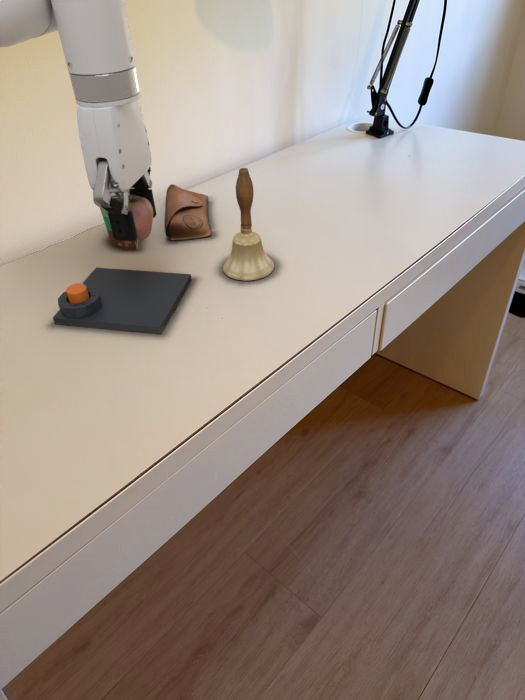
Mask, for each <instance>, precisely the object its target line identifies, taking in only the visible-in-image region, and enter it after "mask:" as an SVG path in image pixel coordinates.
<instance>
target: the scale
mask: <svg viewBox="0 0 525 700" xmlns="http://www.w3.org/2000/svg"><path fill="white" fill-rule="evenodd" d="M192 281H193V280H192V274H191V273H180V272H166V271H153V270H152V271H151V270H139V269H122V268H109V267H108V268H107V267H95V268H94V269H93V271H91V272H90V274H89V275H88V276H87V277H86V278H85V280H84V281H83V282H81V284H84V285H86V288H87V291H88V294H89V299H88V300H86V301H84V302H82V303H77V304H73V303H70V302H69V299H68V296H67V293H66V290H65V291H63V292H62V293H61V294H60V295H59V297H58V298H57V305H58V308H59V310H58V311H57V312H56V313H55V314H54V315H53V316H52V320H53V322H54V324H55V325H57V326H58V325H59V326H69V327H70V326H71V327H81V328H89V329H90V328H91V329H100V330H110V331H111V330H112V331H122V332H131V333H143V334H153V335H154V334H155V335H162V334H163V332H164V330H165V328H166V326H167V325H168V323H169V322H170V319H172V316H173V314H174V313H175V311H176V309H177V307H178V305H180V302H181V301H182V298H183V297H184V295H185V294H186V291H187V290H188V288H189V286H190V285H191V283H192Z"/></svg>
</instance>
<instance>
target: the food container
mask: <svg viewBox="0 0 525 700" xmlns="http://www.w3.org/2000/svg"><path fill="white" fill-rule="evenodd" d="M110 185H111V188H119V185H118V183H110ZM129 189H134V188H132V187H130V188H129ZM129 189H128V195H130V193H129ZM117 197H120V193H112V198H117ZM92 201H93V204H94V205H95V206H97V207H98V208H99V211H100V213H101V215H102V220H103V222H104V225H105V229H106V231H107V234H108V237H109V240H110V243H111V245H112V246H113V247H114V248H116V249H119V250H124V251H137V250H138V246H139V241H120V240H115V239H114V237H113V233H112V229H111V225H110V222H109V219H108V214H106V213H105V210H104V208H102V207H101V205H100V204H99V203H98V202H97V201H95V199H94V190H92Z"/></svg>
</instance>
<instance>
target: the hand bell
mask: <svg viewBox="0 0 525 700" xmlns="http://www.w3.org/2000/svg"><path fill="white" fill-rule="evenodd" d="M235 195H236V196H235V197H236V202H237V205H238V208H239V212H240V232H238V233H236V234H234V235H233V236H232V242H231V243H232V244H231V251H230V255H229V257H228V258H227V259H226V260H225V261H224V263H223V266H222V271H223V273H224V275H225V276H227V277H229V278H231V279H233V280H238V281H246V282H247V281H256V280H260V279H263V278H265V277H266V278H267V276H269V275H270V274H272V272H273V271H274V269H275V263H274V261H273V259H272V258H270V256H268V255H267V254H266V252H265V250H264V247H263V241H262V237H261V235H260V234H259V233H258V232H255V231H253V230H252V228H253V227H252V226H253V224H252V213H251V212H252V207H253V202H254V184H253V180H252V177H251V175H250V171H249V169H248V168H247V167H242V168H239V169H238V175H237V178H236V183H235Z"/></svg>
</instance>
